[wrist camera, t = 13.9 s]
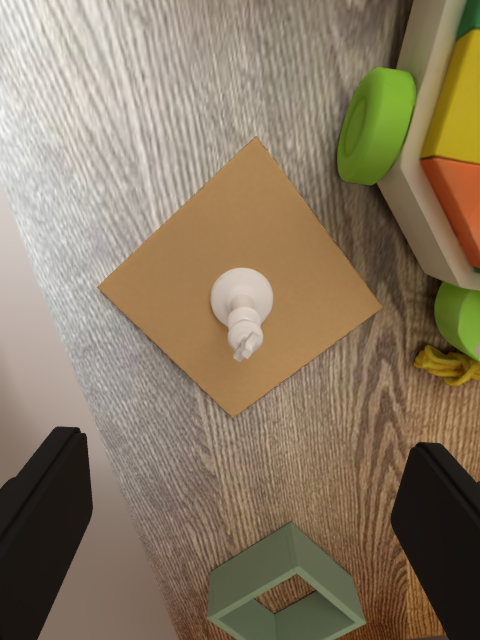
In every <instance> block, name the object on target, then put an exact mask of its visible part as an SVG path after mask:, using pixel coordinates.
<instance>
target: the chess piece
mask: <svg viewBox="0 0 480 640" xmlns="http://www.w3.org/2000/svg"><path fill="white" fill-rule="evenodd" d="M210 301H211V306H212V310H213V312H214V314H215V316H216V317H217V319H218V320H219V321H220V322H221V323H223V324H224V325H226V326H227V327H228V329H229V332H228V337H227V338H228V343H229V345H230V347H231V348H232V349H233V350H234V351H236V352H235V353H234V354H233V358H234V359H236V360H237V361H239V362H241V361H242V359H243V358H244V357H245V358H247V359H248V358H249V357H250V356H251V354H252V353H253V352H255V351H256V350H258V349H259V348H260V346H261V345H262V342H263V332H262V330H261V328H260V327H261V323H262V322H263V321H265V319H266V318H267V317H268V315H269V314H270V312H271V309H272V305H273V291H272V288H271V285H270V283H269V282H268V280H267V279H266V278H265V277H264V276H263V275H262V274H260V273H259V272H257V271H255V270H253V269H249V268H235V269H231V270H229V271H227V272H225V273H224V274H222V275H221V276H220V277H219V278H218V279H217V280H216V282H215V283H214V285H213V287H212V290H211V296H210Z"/></svg>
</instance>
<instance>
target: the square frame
mask: <svg viewBox="0 0 480 640" xmlns="http://www.w3.org/2000/svg"><path fill="white" fill-rule="evenodd" d="M296 573H297V574H298V575H299V576H300V577H301V578H303V579H304V580H305V581H306V582H307V583H309V584H310V585H311V586H312V587H313V588H315V589H316V590H317V591H315V592H314V593H312V594H310V595H308V596H306V597H305V598H303V599H301V600H299V601H297V602H296V603H294V604H292V605H290V606H288V607H287V608H285V609H283V610H281V611H279V612H278V613H276V614H273V613H272V612H271V611H269V610H268V609H267V608H265V607H264V606H263V605H261V604H260V603H259V602H257V601H256V600H255V599H254V598H255V597H257V596H259V595H261V594H262V593H264V592H266V591H267V590H269V589H271V588H273V587H274V586H276V585H278V584H280V583H281V582H283V581H285V580H287V579H288V578H290V577H292V576H293V575H295V574H296ZM207 619H208V620H209V621H211V622H212V623H213V624H215V625H216V626H218V627H219V628H221V629H222V630H224V631H225V632H226V633H228V634H229V635H231V636H232V637H234V638H235V639H237V640H334V639H336V638H338V637H340V636H342V635H344V634H346V633H348V632H350V631H352V630H354V629H356V628H358V627H359V626H362V625H364V624H366V621H365V617H364V614H363V611H362V608H361V605H360V602H359V598H358V595H357V592H356V589H355V586H354V583H353V579H352V577H351V576H350V575H349V574H348V573H347V572H346V571H345V570H344V569H342V568H341V567H340V566H339V565H338V564H337V563H336V562H335V561H334V560H332V559H331V558H330V557H329V556H328V555H327V554H326V553H325V552H324V551H322V550H321V549H320V548H319V547H318V546H317V545H316V544H315V543H314V542H312V541H311V540H310V539H309V538H308V537H307V536H306V535H305V534H304V533H302V532H301V531H300V530H299V529H298V528H297V527H296V526H295V525H294V524H292V523H291V522H290V523H288V524H286V525H285V526H283V527H282V528H280V529H278V530H277V531H275V532H274V533H272V534H270V535H269V536H267V537H266V538H264V539H262V540H261V541H259V542H257V543H256V544H254V545H253V546H251V547H249V548H248V549H246V550H245V551H243V552H241V553H240V554H238V555H237V556H235V557H233V558H232V559H230V560H228V561H227V562H225V563H224V564H222V565H220V566H219V567H217V568H216V569H214V570H213V571H211V572H210V578H209V594H208V610H207Z"/></svg>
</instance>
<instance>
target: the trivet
mask: <svg viewBox="0 0 480 640" xmlns="http://www.w3.org/2000/svg"><path fill="white" fill-rule="evenodd" d="M235 268H249V269H253V270H255V271H257V272H259V273H260V274H262V275H263V276H264V277H265V278H266V279H267V280H268V282H269V283H270V285H271V288H272V291H273V305H272V309H271V312H270V314H269V315H268V317H267V318H266V319H265V321H263V322H262V323H261V327H260V328H261V330H262V332H263V342H262V345H261V346H260V348H259V349H258V350H256V351H255V352H253V353H252V354H251V356H250V357H249V358H248V359H247V358H245V357H244V358H243V359H242V361H241V362H239V361H237V360H236V359H234V358H233V354H234V353H235V352H236V351H234V350H233V349H232V348H231V347H230V345H229V343H228V338H227V337H228V332H229V329H228V327H227V326H226V325H224V324H223V323H221V322H220V321H219V320H218V319H217V317H216V316H215V314H214V312H213V310H212V306H211V301H210V296H211V290H212V287H213V285H214V283H215V282H216V280H217V279H218V278H219V277H220V276H221V275H222V274H224V273H225V272H227V271H229V270H231V269H235ZM97 288H98V289H99V290H100V291H101V292H102V293H103V294H104V295H105V296H107V297H108V298H109V299H110V300H111V301H112V302H113V303H114V304H115V305H116V306H117V307H118V308H119V309H120V310H121V311H122V312H123V313H124V314H125V315H126V316H127V317H128V318H129V319H130V320H131V321H132V322H134V323H135V324H136V325H137V326H138V327H139V328H140V329H141V330H142V331H143V332H144V333H145V334H146V335H147V336H148V337H149V338H150V339H151V340H152V341H153V342H154V343H155V344H156V345H157V346H158V347H159V348H160V349H162V350H163V351H164V352H165V353H166V354H167V355H168V356H169V357H170V358H171V359H172V360H173V361H174V362H175V363H176V364H177V365H178V366H179V367H180V368H181V369H182V370H183V371H184V372H185V373H186V374H187V375H189V376H190V377H191V378H192V379H193V380H194V381H195V382H196V383H197V384H198V385H199V386H200V387H201V388H202V389H203V390H204V391H205V392H206V393H207V394H208V395H209V396H210V397H211V398H212V399H213V400H214V401H215V402H217V403H218V404H219V405H220V406H221V407H222V408H223V409H224V410H225V411H226V412H227V413H228V414H229V415H230V416H231V417H232V418H234V417H235V416H236V415H238V414H239V413H240V412H242V411H243V410H244V409H246V408H247V407H249V406H250V405H251V404H253V403H254V402H255V401H257V400H258V399H259V398H261V397H262V396H263V395H265V394H266V393H268V392H269V391H270V390H272V389H273V388H274V387H276V386H277V385H278V384H280V383H281V382H283V381H284V380H285V379H287V378H288V377H289V376H291V375H292V374H293V373H295V372H296V371H297V370H299V369H300V368H302V367H303V366H304V365H306V364H307V363H308V362H310V361H311V360H312V359H314V358H315V357H317V356H318V355H319V354H321V353H322V352H323V351H325V350H326V349H327V348H329V347H330V346H331V345H333V344H334V343H336V342H337V341H338V340H340V339H341V338H342V337H344V336H345V335H346V334H348V333H349V332H351V331H352V330H353V329H355V328H356V327H357V326H359V325H360V324H361V323H363V322H364V321H365V320H367V319H368V318H370V317H371V316H372V315H374V314H375V313H376V312H378V311H379V310H380V309H382V308H383V306H382V305H381V304H380V302H379V301H378V300H377V298H376V297H375V296H374V294H373V293H372V292H371V290H370V289H369V287H368V286H367V285H366V283H365V282H364V281H363V279H362V278H361V277H360V275H359V274H358V273H357V271H356V270H355V269H354V267H353V266H352V264H351V263H350V262H349V260H348V259H347V258H346V256H345V255H344V254H343V252H342V251H341V250H340V248H339V247H338V246H337V244H336V243H335V241H334V240H333V239H332V237H331V236H330V235H329V233H328V232H327V231H326V229H325V228H324V227H323V225H322V224H321V223H320V221H319V220H318V218H317V217H316V216H315V214H314V213H313V212H312V210H311V209H310V208H309V206H308V205H307V204H306V202H305V201H304V199H303V198H302V197H301V195H300V194H299V193H298V191H297V190H296V189H295V187H294V186H293V185H292V183H291V182H290V181H289V179H288V178H287V176H286V175H285V174H284V172H283V171H282V170H281V168H280V167H279V166H278V164H277V163H276V162H275V160H274V159H273V158H272V156H271V155H270V153H269V152H268V151H267V149H266V148H265V147H264V145H263V144H262V143H261V141H260V140H259V139H258V137H257V136H256V137H255V138H254V139H253V140H252V141H250V142H249V143H248V144H247V145H246V146H245V147H244V148H243V149H242V150H241V151H240V152H239V153H238V154H237V155H236V156H235V157H234V158H233V159H232V160H230V161H229V162H228V163H227V164H226V165H225V166H224V167H223V168H222V169H221V170H220V171H219V172H218V173H217V174H216V175H215V176H214V177H213V178H212V179H210V180H209V181H208V182H207V183H206V184H205V185H204V186H203V187H202V188H201V189H200V190H199V191H198V192H197V193H196V194H195V195H194V196H193V197H191V198H190V199H189V200H188V201H187V202H186V203H185V204H184V205H183V206H182V207H181V208H180V209H179V210H178V211H177V212H176V213H175V214H174V215H173V216H171V217H170V218H169V219H168V220H167V221H166V222H165V223H164V224H163V225H162V226H161V227H160V228H159V229H158V230H157V231H156V232H155V233H154V234H153V235H151V236H150V237H149V238H148V239H147V240H146V241H145V242H144V243H143V244H142V245H141V246H140V247H139V248H138V249H137V250H136V251H135V252H134V253H133V254H131V255H130V256H129V257H128V258H127V259H126V260H125V261H124V262H123V263H122V264H121V265H120V266H119V267H118V268H117V269H116V270H115V271H114V272H113V273H111V274H110V275H109V276H108V277H107V278H106V279H105V280H104V281H103V282H102V283H101V284H100V285H99V286H98V287H97Z"/></svg>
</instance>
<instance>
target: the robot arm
mask: <svg viewBox="0 0 480 640" xmlns="http://www.w3.org/2000/svg"><path fill="white" fill-rule="evenodd" d="M87 447H88V446H87V436H86V434H85V433H81V431H80V429H79V428H78V427H55V428H54V429H53V430H52V432H51V433H50V434H49V436H48V437H47V438H46V439H45V440H44V442H43V443H42V444H41V446H40V447H39V448H38V449H37V451H36V452H35V453H34V454H33V456H32V457H31V458H30V459H29V461H28V462H27V463H26V465H25V466H24V467H23V469H22V470H21V471H20V472H19V473H18V475H17V476H16V477H13V478H11V479H10V480H8V481H7V482H6V483H5V484H4V485H3V486H2V488H1V489H0V640H37V639H38V637H39V635H40V632H41V630H42V628H43V626H44V623H45V621H46V619H47V616H48V614H49V612H50V610H51V608H52V605H53V603H54V600H55V598H56V596H57V594H58V592H59V589H60V587H61V585H62V583H63V580H64V578H65V576H66V574H67V571H68V569H69V567H70V565H71V562H72V560H73V558H74V556H75V553H76V551H77V549H78V547H79V544H80V542H81V540H82V537H83V535H84V533H85V531H86V528H87V525H88V524H89V522H90V519H91V515H92V510H93V504H92V492H91V480H90V469H89V457H88V448H87ZM391 525H392V528H393V530H394V532H395V534H396V536H397V538H398V540H399V542H400V544H401V546H402V548H403V550H404V552H405V554H406V556H407V558H408V560H409V562H410V564H411V566H412V568H413V570H414V572H415V574H416V576H417V578H418V580H419V582H420V583H421V585H422V587H423V589H424V591H425V593H426V595H427V597H428V599H429V601H430V603H431V605H432V607H433V609H434V611H435V613H436V615H437V617H438V619H439V621H440V623H441V625H442V627H443V629H444V631H445V633H446V635H447V637H448V638H449V640H480V486H479V485H478V484H477V483H476V482H475V480H474V479H473V478H472V477H471V476H470V475H469V474H468V473H467V471H466V470H465V469H464V468H463V467H462V466H461V465H460V464H459V463H458V461H457V460H456V459H455V458H454V457H453V456H452V455H451V454H450V453H449V451H448V450H447V449H446V448H445V447H444V446H443V445H442V444H440V443H427V442H419V443H417V444H416V446H415V447H413V448H411V450H410V453H409V456H408V459H407V463H406V466H405V469H404V473H403V476H402V480H401V483H400V486H399V490H398V493H397V496H396V500H395V503H394V506H393V510H392V513H391Z"/></svg>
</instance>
